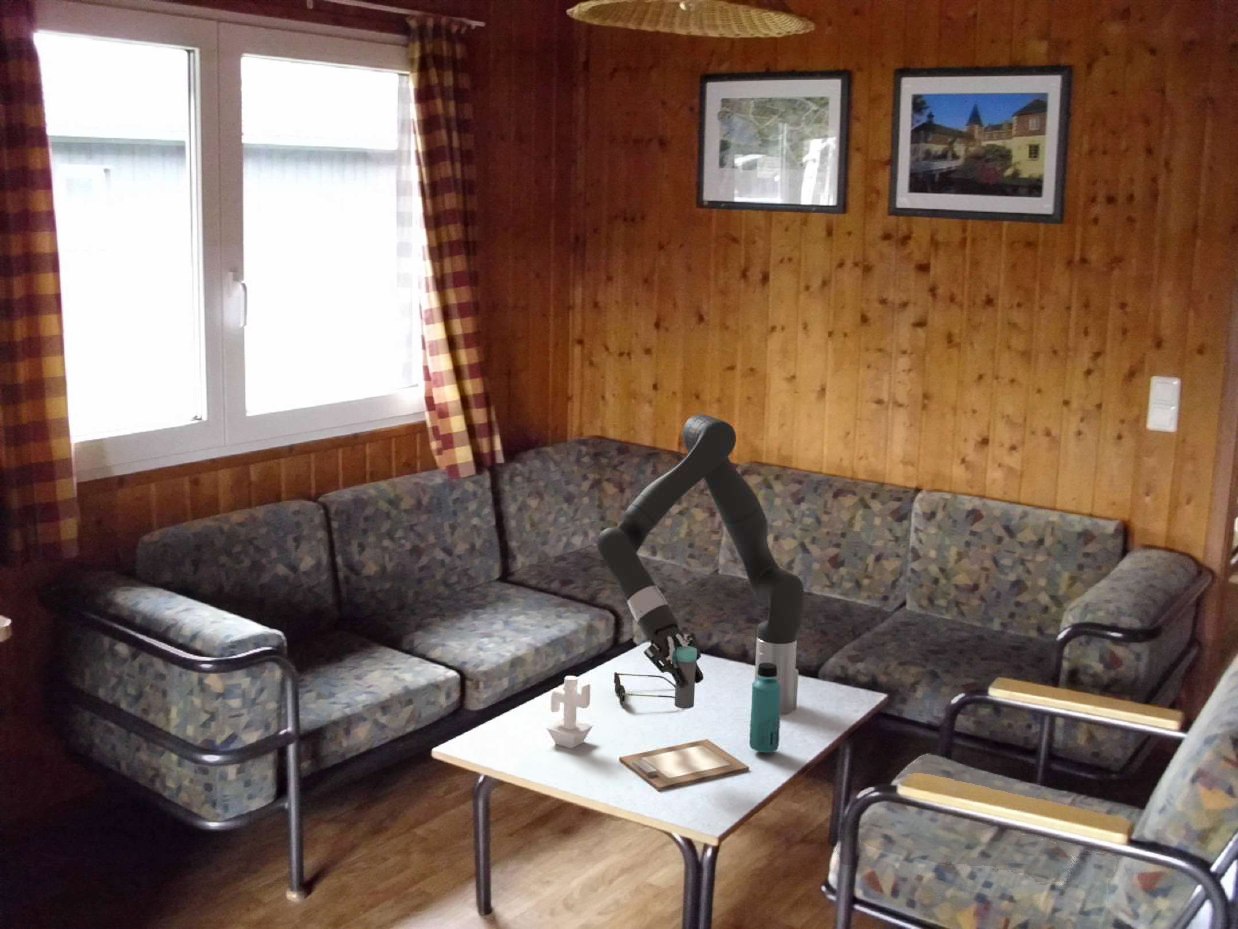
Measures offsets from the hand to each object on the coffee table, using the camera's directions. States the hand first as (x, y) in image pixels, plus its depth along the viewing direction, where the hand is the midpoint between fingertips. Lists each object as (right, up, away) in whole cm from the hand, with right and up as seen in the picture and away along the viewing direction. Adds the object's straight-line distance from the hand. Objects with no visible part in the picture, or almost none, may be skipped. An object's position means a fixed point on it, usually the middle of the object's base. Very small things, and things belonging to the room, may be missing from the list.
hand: (692, 683), depth 275 cm
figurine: (-26, -16, +17) cm, 34 cm away
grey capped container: (-2, -5, +2) cm, 6 cm away
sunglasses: (-8, -11, +44) cm, 46 cm away
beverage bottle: (+16, -17, +14) cm, 28 cm away
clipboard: (-2, -18, +7) cm, 19 cm away
